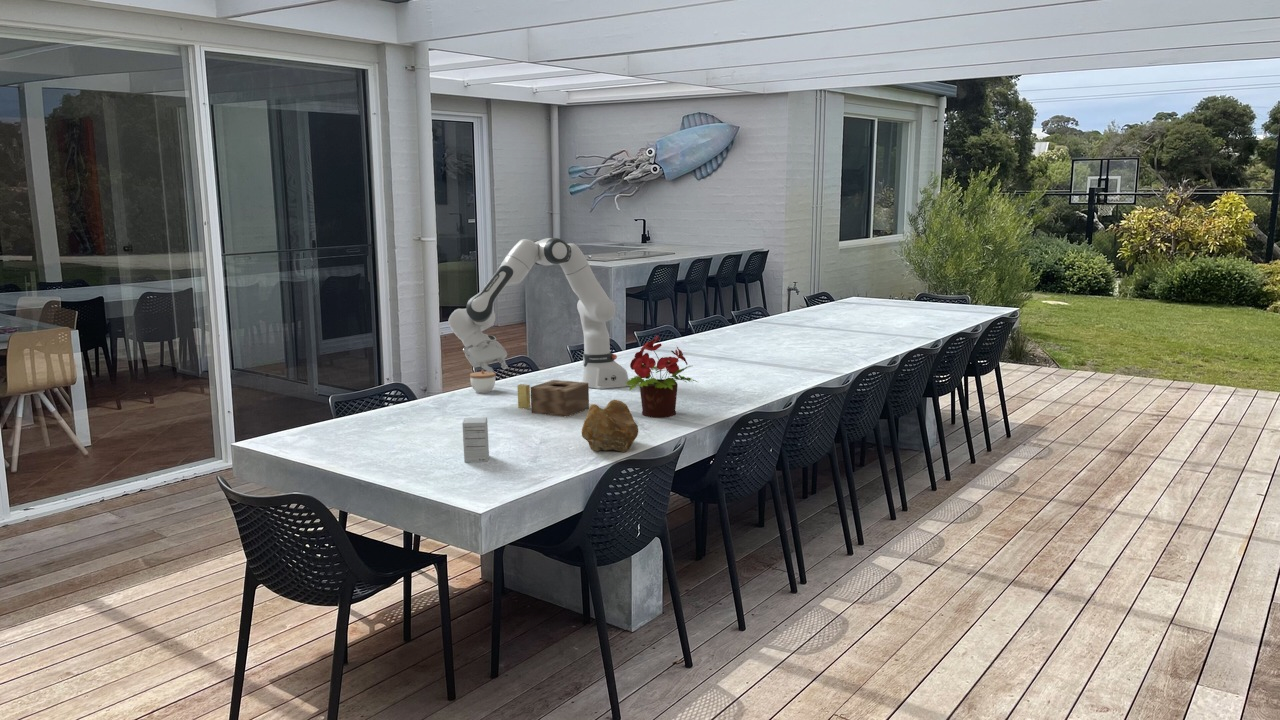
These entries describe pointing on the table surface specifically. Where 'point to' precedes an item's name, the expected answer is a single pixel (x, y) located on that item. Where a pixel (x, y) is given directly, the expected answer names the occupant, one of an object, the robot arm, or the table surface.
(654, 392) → the potted plant
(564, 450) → the table surface
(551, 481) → the table surface
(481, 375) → the lidded jar
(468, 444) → the supplement box
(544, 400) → the box
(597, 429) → the rough brown rock
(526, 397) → the gold rectangular block
